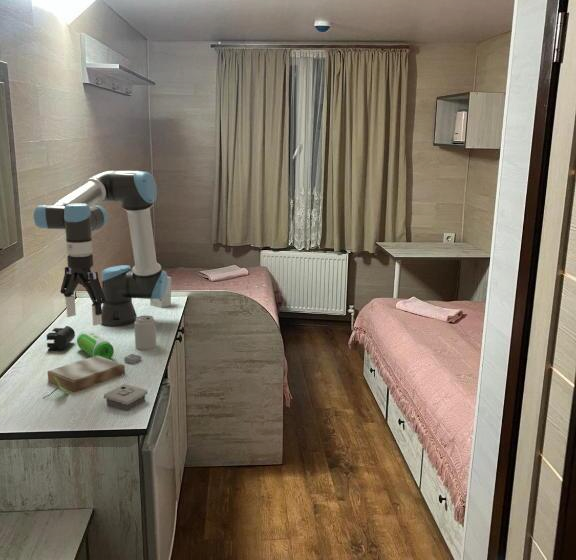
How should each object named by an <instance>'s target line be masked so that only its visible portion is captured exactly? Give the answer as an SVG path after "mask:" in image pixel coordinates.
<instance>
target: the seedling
mask: <svg viewBox="0 0 576 560" xmlns="http://www.w3.org/2000/svg"><path fill="white" fill-rule="evenodd" d="M54 379H55V381H56V383H57V384H58V386H57V388H55V389H54V390H53V391H52V392H51V393H50V394H48V395H45V396H44V397H42V399H45V398H47V397H49V396H51V395H52V394H53V393H54V392H55V391H56V390H58V389H60V390H61V391H62V392H63V393H64V395H65V394H66V395H70V391H69V390H66V389H65V388H63V387H61V384H60V382H59V381H58V379H57V378H56V377H54Z"/></svg>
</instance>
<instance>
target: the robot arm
mask: <svg viewBox="0 0 576 560" xmlns="http://www.w3.org/2000/svg"><path fill="white" fill-rule="evenodd" d="M157 189H158V188H157V184H156V180H155V178H154V176H153V175H152V174H151V173H150V172H149V171H142V170H112V169H111V170H106V171H103V172H99V173H97V174H94V175H92V176H90V177H88V178H86V179H85V180H84V181H82V183H81V185H80V186H79V187H78V188H76V189H75V190H73V191H71V192H70V193H68V194H66V195H65V196H63V197H62V198H60V199H58V200H57V201H55V202H54V203H52V204H50V205H48V204H42V205H37V206H36V207H35V209H34V211H33V221H34V225H35V226H36V227H37V228H40V229H47V230H65V241H66V253H67V257H66V260H67V266H65V267H64V275H63V279H62V283H61V287H60V291H59V292H60V294H63V296H64V297H65V307H66V317H68V318H70V317H74V316H76V315H77V313H76V311H77V310H76V301H75V300H76V299H75V291H76V289H77V286H78V285H81V286H82V287H83V288H85V290H86V292H87V294H88V296H89V298H90V300H91V302H92V304H91V313H92V314H91V315H92V326H94V327H95V326H98V325H102V326H106V327H122V326H123V327H124V326H128V325H129V326H130V325H133V324H134V322H135V321H136V318H137V317H138V315H137V313H136V310H135V307H134V304H133V300H132V299H146V300H150V299H161V298H162V297H163V296H164V294H165V291H166V287H167V281H168V277H169V276H168V273H167V271H164V270H162V265H161V264H160V263H159V262H157V255H156V246H155V240H154V231H153V225H152V217H151V208H152V207H153V206H154V203H155V202H156V201H157V197H158V193H157V192H158V190H157ZM102 202H116V203H117V202H119V203H121V207H122V209H123V210H124V211H126V214H127V220H128V227H129V233H130V239H131V245H132V246H131V248H132V253H133V260H134V266H133V267H132V268H131V266H130V265H129V264H128V265H127V264H126V265H125V264H123V265H115V266H110V267H107V268H105V269H103V270H102V271H101V280H99V273H98V272H97V271H95V272H92V271H91V268H92V267H93V266H94V257H93V256H94V255H93V254H92V253H93V238H92V232H94V231H96V230H101V228H103V227H104V226H105V225H106V224H107V223H108V220H109V215H108V212H107V210H106V209H105V208H104V207H103V206H100V205H98V204H101V203H102ZM96 204H97V205H96ZM100 281H101V282H100Z"/></svg>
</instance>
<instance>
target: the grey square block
mask: <svg viewBox="0 0 576 560" xmlns="http://www.w3.org/2000/svg"><path fill="white" fill-rule="evenodd" d="M123 358H124V363H125V362H127V363H126V364H131V363H132V365H135V364H137V363H139V362H141V361H142V355H138V354H133V353H131V354H129V355H127V356H125V357H123ZM134 363H135V364H134Z"/></svg>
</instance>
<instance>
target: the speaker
mask: <svg viewBox="0 0 576 560" xmlns="http://www.w3.org/2000/svg"><path fill="white" fill-rule="evenodd" d="M76 344H77V346H78V348H79V349H80V350H81V351H83V352H84V353H86V354H87V355H89V356H90V357H94V356H97V355H98V356H101V357H104V358H106V359H109V360H111V359H112V358H113V356H114V353H115V352H114V351H115V350H114V346H113V344H111V342H109V341H108V340H106V339H104V338H102V337H101V336H99V335H98V334H96V332H94V331H90V330H84V331H82V332H81V333H79V334H78V335H77V339H76Z"/></svg>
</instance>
